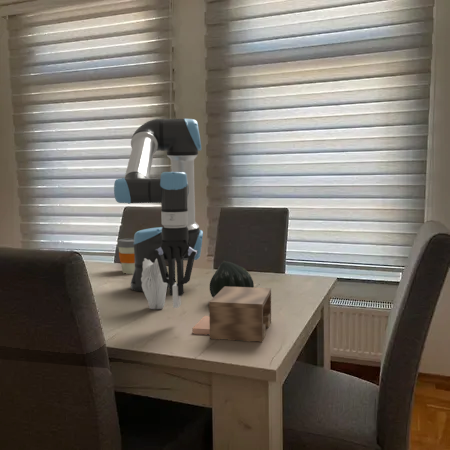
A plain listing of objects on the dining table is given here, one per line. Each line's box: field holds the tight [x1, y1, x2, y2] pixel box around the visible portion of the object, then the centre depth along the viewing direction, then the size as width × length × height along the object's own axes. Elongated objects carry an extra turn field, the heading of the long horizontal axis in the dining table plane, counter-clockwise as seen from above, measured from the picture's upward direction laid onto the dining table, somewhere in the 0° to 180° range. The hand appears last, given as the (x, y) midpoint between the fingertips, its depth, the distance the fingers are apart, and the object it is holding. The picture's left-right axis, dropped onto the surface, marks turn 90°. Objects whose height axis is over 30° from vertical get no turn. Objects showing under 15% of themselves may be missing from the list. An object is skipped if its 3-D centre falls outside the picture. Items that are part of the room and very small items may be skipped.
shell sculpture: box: [141, 258, 168, 310], centre depth 152 cm, size 8×8×18 cm
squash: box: [209, 260, 255, 299], centre depth 159 cm, size 14×15×15 cm
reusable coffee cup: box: [117, 237, 135, 275], centre depth 214 cm, size 13×13×15 cm
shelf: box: [208, 286, 272, 343], centre depth 130 cm, size 14×18×10 cm
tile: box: [192, 315, 210, 335], centre depth 131 cm, size 18×12×2 cm, turn 77°
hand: (176, 306), depth 136 cm, fingers closed
